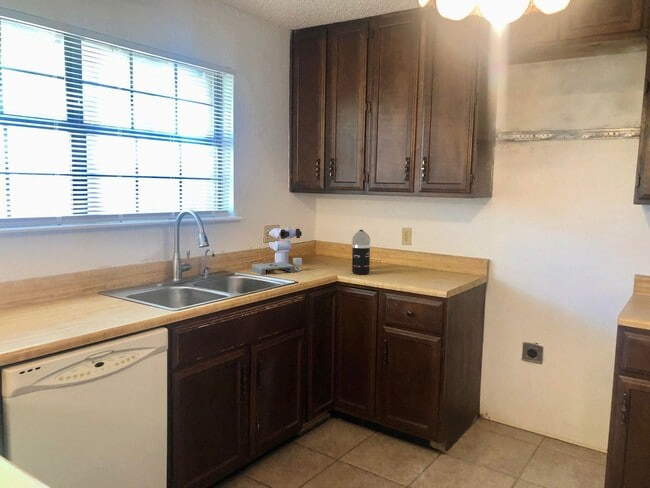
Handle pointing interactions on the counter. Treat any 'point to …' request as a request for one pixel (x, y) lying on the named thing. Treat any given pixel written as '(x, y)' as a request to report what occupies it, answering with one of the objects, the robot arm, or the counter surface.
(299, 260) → the peg
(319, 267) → the counter surface
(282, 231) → the robot arm
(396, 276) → the counter surface
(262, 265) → the keyhole plate
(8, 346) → the counter surface
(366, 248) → the black and grey bottle
